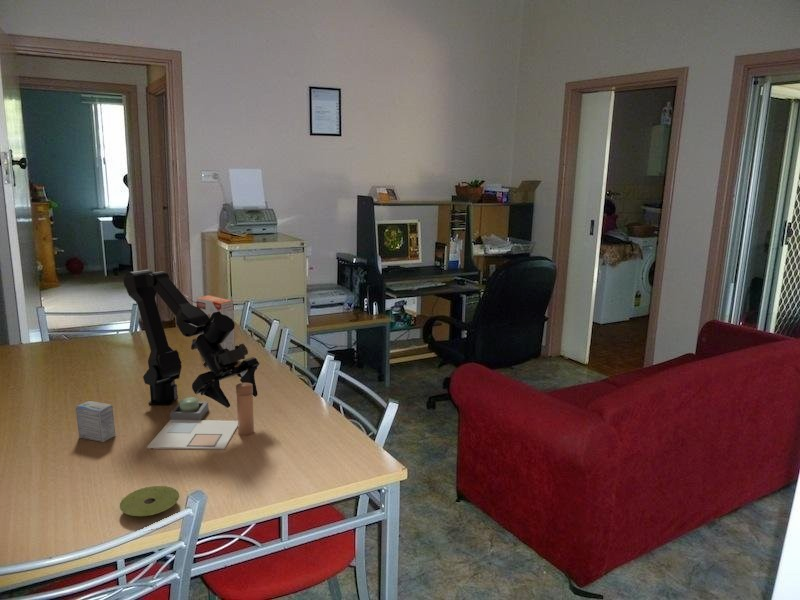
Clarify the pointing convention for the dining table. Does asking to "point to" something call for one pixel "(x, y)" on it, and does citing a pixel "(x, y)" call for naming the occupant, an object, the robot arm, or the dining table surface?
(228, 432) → the colouring sheet
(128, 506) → the green disc
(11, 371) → the dining table surface
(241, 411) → the brown tall rounded cylinder
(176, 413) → the button housing
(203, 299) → the cracker box
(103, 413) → the medicine box
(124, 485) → the dining table surface
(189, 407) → the button
